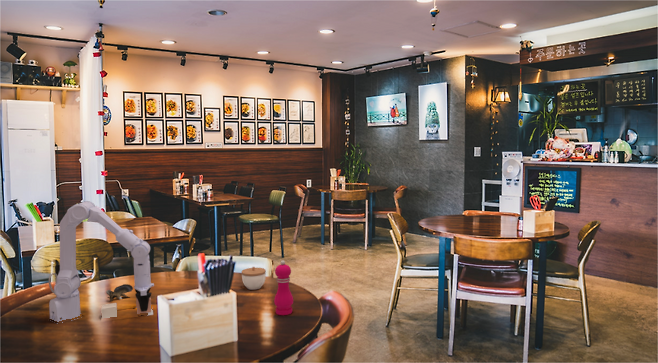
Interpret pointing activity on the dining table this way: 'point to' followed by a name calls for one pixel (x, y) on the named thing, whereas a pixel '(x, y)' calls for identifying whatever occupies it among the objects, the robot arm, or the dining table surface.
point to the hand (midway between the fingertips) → (143, 308)
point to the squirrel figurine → (119, 291)
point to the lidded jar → (253, 277)
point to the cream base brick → (109, 310)
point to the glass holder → (57, 269)
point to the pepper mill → (283, 290)
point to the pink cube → (140, 309)
